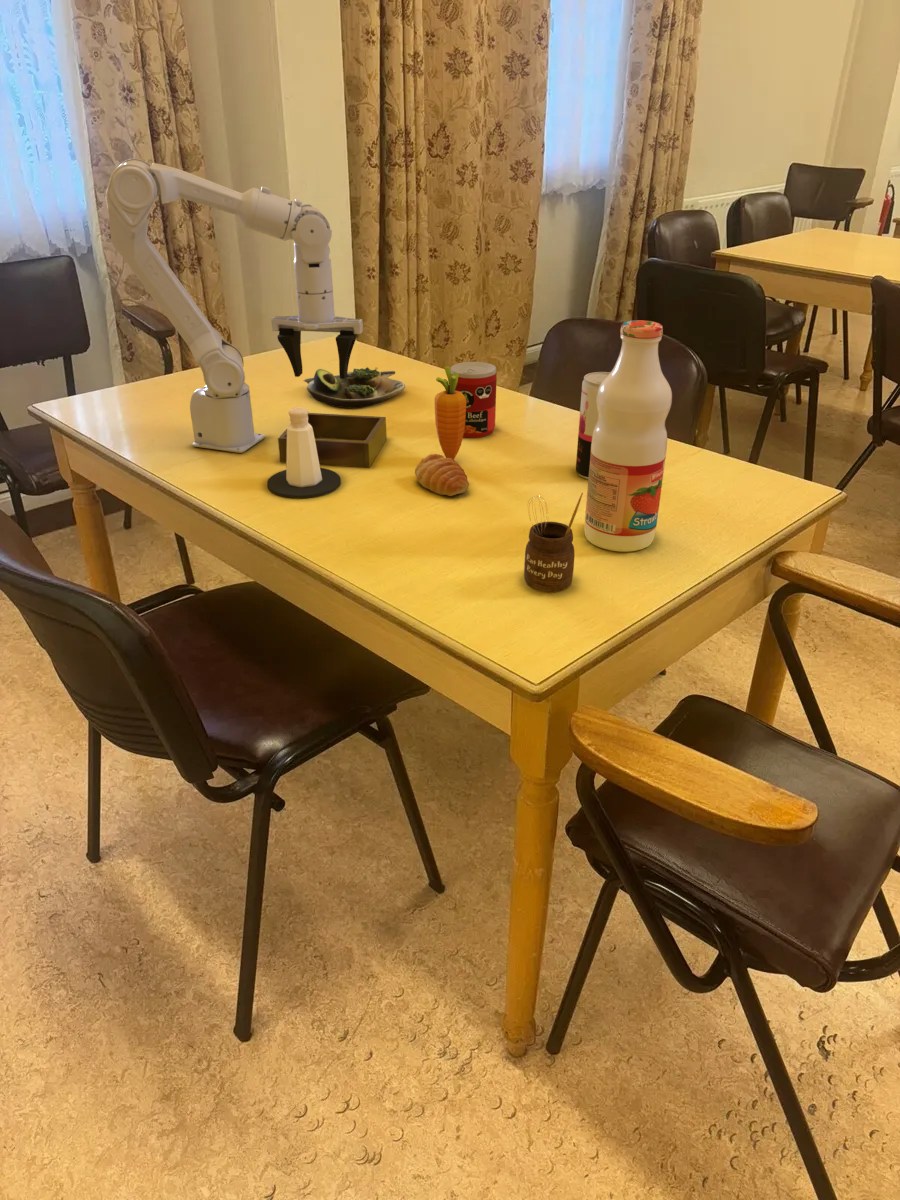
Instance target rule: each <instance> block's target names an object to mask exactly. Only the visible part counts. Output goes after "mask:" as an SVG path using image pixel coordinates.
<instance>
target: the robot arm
mask: <svg viewBox="0 0 900 1200" xmlns="http://www.w3.org/2000/svg"><path fill="white" fill-rule="evenodd" d="M271 191H272V190H271V188H269V187H267V186H264V185H261V188H260V189H259V188H257V187H250V188H249V189H247V190H246V191H244V192H239V191H237V190H234V189H232V188H230V187H227V186H224V185H222V184H220V183H217V182H214V181H211V180H209V179H206V178H203V177H201V176H199V175H196V174H193V173H190V172H188V171H185V170H182V169H180V168H177V167H173V166H170V165H165V164H162V163H157V162H152V163H151V164H150V163H149V162H147V161H145V160H143V159H140V158H128V159H126V160H124V161H123V162H121V163H120V164H119V165H118V166H117V167H116V168H115V169H114V170H113V171H112V172H111V175H110V177H109V180H108V186H107V188H106V193H105V202H106V207H107V215H108V223H109V232H110V233H109V234H110V241H111V243H112V245H113V247H114V248H115V250H116V251H117V252H118V254H119V255H120V256H121V257H122V259H123V260H124V262H125V263H126V264H127V266H128V267H129V268H130V270H131V271H132V273H133V274H134V275H135V276H136V277H137V279H138V281H139V282H140V284H142V286H143V287H144V288H145V290H146V291H147V293H148V294H149V295H150V297H151V298H152V300H153V301H154V302H155V303H156V305H157V306H158V307H159V309H160V310H161V311H162V313H163V314H164V315H165V317H166V318H167V320H169V322H170V323H171V325H172V327H174V329H175V330H176V331H177V333H178V334H179V335H180V337H181V338H182V340H183V341H184V342H185V344H186V345H187V346H188V348H189V351H190V352H191V354H192V356H193V358H194V360H195V362H196V364H197V366H198V367H199V368H200V369H201V372H202V375H203V380H204V384H205V385H204V386H203V387H199V388H196V390H194V392H193V393H192V395H191V398H190V401H189V402H190V403H189V411H190V418H191V423H192V424H191V425H192V432H193V438H194V442H192V447H196V448H201V449H209V450H217V451H224V452H231V453H239V454H242V453H245V452H246V451H247V450H249V449H250V448H252V447H253V446H255V445H256V444H258V443H259V442H261V441H262V440H263V439H265V438H266V435H265V434H263V433H256V432H255V427H254V417H253V408H252V400H251V399H252V398H251V392H250V385H249V384H248V383H246V382H245V381H246V374H245V370H244V362H245V361H244V357H243V354H242V352H241V351H240V350H239V348H238V347H236V345H233V344H231V343H229V342H228V341H227V340H226V339H224V337H223V336H222V334H221V333H220V332H219V331H218V330H217V329H216V328H214V327H213V325H212V324H211V323H210V321H209V320H208V319H207V317H206V315H205V314H204V313H203V312H202V310H201V309H200V308H199V306H198V305H197V303H196V302H195V301H194V299H193V298H192V296H191V295H190V293H189V292H188V290H187V289H186V288H185V287H184V285H183V284H182V282H181V281H180V280H179V278H178V276H176V275H177V274H175V273H174V272H173V270H172V269H171V267H170V265H169V263H167V261H166V260H165V258H164V257H163V256H162V255H161V253H160V251H159V250H158V249H157V248H156V246H155V245H154V243H153V242H152V241H151V239H150V238H149V236H148V231H149V224H150V218H151V214H150V213H151V211H152V210H153V207H154V205H155V202H156V200H157V198H158V196H160V200H161V204H162V205H164V204H167V203H168V204H169V203H172V202H176V201H179V200H185V201H189V202H193V203H195V204H199V205H201V206H206V207H209V208H213V209H214V210H215V209H216V210H219V211H223V212H225V213H229V214H232V215H235V216H237V217H238V219H239V221H240V222H241V224H242V226H243V227H244V228H246V229H248V230H251V231H254V232H256V233H261V234H263V235H266V236H269V237H273V238H275V239H278V240H280V241H284V242H286V241H289V240H292V241H293V251H294V260H293V268H294V269H293V270H294V280H295V292H296V304H297V315H281V316H279V315H275V316H273V317H272V318H271V319H270V321H271V329H272V332H278V335H277V340H278V343H279V344H280V346H281V347H282V348H283V350H284V352H285V353H286V356H287V358H288V360H289V362H290V365H291V367H292V371H293V375H294V377H295V378H299V377H300V376H301V375H302V374H303V359H302V350H301V347H302V346H301V339H302V338H301V336H302V332H317V333H318V332H319V333H320V332H321V333H339V334H337V336H336V337H335V343H336V347H337V348H336V349H337V355H338V369H339V370H338V371H339V372H338V375H340V379H345V378H346V376H347V372H349V364H350V358H351V356H352V352H353V349H354V345H355V343H356V340H357V338H358V336H359V335H361V334H362V333H363V332H364V323H363V319H362V318H351V317H343V316H337V315H335V301H334V285H333V284H334V283H333V272H332V260H331V258H330V254H331V249H330V246H329V245H330V241H331V240H332V236H333V235H332V233H333V230H332V229H331V226H330V223H329V221H328V219H327V217H326V216H325V214H324V213H322V211H320V210H319V209H318V208H316V207H314V206H313V205H311V204H309V203H306V204H303V201H302V200H300V199H297V198H295V199H294V201H293V200H290V199H287V198H285V197H282V196H279V195H276V194H273V193H271Z"/></svg>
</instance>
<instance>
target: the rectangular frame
mask: <svg viewBox="0 0 900 1200" xmlns="http://www.w3.org/2000/svg"><path fill="white" fill-rule="evenodd" d="M308 423H309V424H310V425H311V426H312V428H313V432H314V438H315V443H316V448H317V454H318V459H319V465H323V466H340V467H356V468H368V469H370V468H371V466H372V464H373V463H374V461H375V460H376V458H377V456H378V455H379V453H380V451H381V450H382V448H383V447H384V444H385V443H386V441H387V440H388V439H387V417H386V416H373V415H359V414H338V413H320V412H308ZM277 444H278V453H279V462H280V463H287V428H286V429H285V430H284V431H283V432H282V433H281V434H280V435H279V436H278V437H277Z"/></svg>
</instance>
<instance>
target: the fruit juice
mask: <svg viewBox="0 0 900 1200" xmlns="http://www.w3.org/2000/svg"><path fill="white" fill-rule="evenodd" d="M663 330H664V328H663V324H661V323H659V322H656V321H652V320H639V319H638V320H628V321H624V322H623V323H621V325H620V332H619V333H620V339H621V347H620V352H619V354H618V357H617V360H616V362H615V364H614V366H613V368H612V369H611V371H609V372H610V373H609V374H608V375H607V376H606V378H605V379H604V380H603V381H602V383H601V384H600V386H599V389H598V393H597V408H598V413H599V420H598V422H597V424H596V426H595V428H594V432H593V437H592V444H591V456H590V468H589V479H587V489H586V490H587V492H586V502H585V515H584V525H583V527H584V535H585V538H586V540H587V541H588V542H589V543H591V544H592V545H594V546H596V547H598V548H601V549H604V550H608V551H613V552H622V553H623V552H624V553H625V552H627V553H628V552H635V551H640V550H643V549H645V548H648V547H649V546H650V545H651V544H652V543H653V542H654V539H655V536H656V533H657V524H658V517H659V511H660V503H661V494H662V487H663V480H664V470H665V465H666V458H667V453H668V452H667V449H668V431H667V428H666V420H667V417H668V416H669V413H670V410H671V408H672V404H673V391H672V388H671V386H670V384H669V381H668V380H667V378H666V377H665V375H664V374H663V371H662V368H661V363H660V358H659V343H660V342H661V341H662V337H663V336H664V335H663V334H664V331H663Z"/></svg>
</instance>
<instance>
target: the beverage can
mask: <svg viewBox="0 0 900 1200" xmlns="http://www.w3.org/2000/svg"><path fill="white" fill-rule="evenodd" d="M610 372H611V371H609V372H607V371H595V372H589V373H587V374H585V375H584V376H583V380H582V382H581V383H582V384H581V396H580V408H579V422H578V434H577V446H576V447H577V449H576V461H575V472H576V473H577V474H578V475H579V476H580V477H581V478H583V479H585V480H588V479H589V468H590V456H591V444H592V437H593V432H594V428H595V426H596V424H597V422H598V420H599V413H598V408H597V393H598V389H599V386H600V384H601V383H602V381H603V380H604V379H605V378H606V376H607V375H608V374H609V373H610Z"/></svg>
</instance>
